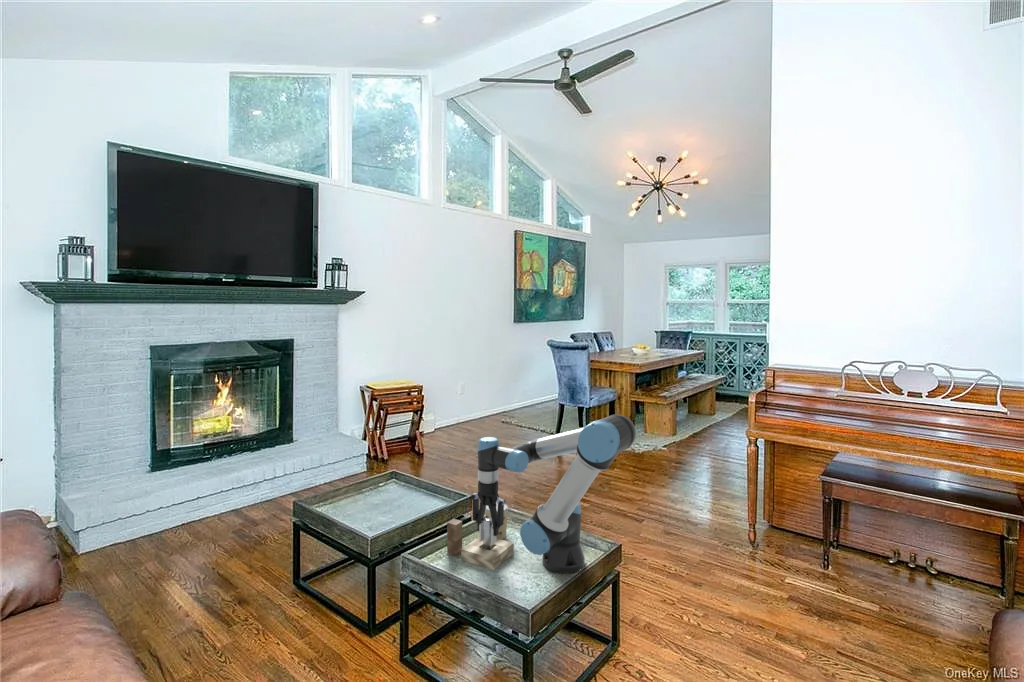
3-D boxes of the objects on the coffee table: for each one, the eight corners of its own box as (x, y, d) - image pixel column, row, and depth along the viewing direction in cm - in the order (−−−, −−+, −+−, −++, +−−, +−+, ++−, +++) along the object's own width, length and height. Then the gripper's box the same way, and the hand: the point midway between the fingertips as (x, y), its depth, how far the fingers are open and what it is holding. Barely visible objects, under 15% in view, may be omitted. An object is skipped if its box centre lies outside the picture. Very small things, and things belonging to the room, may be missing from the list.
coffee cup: (482, 540, 207) (482, 510, 206) (487, 529, 216) (487, 501, 215) (505, 542, 205) (506, 512, 204) (509, 531, 214) (510, 503, 213)
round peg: (494, 555, 194) (494, 519, 193) (489, 559, 191) (489, 522, 190) (486, 553, 196) (486, 516, 195) (481, 557, 193) (481, 520, 192)
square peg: (462, 552, 197) (462, 521, 196) (456, 556, 193) (456, 525, 192) (453, 549, 199) (453, 518, 198) (447, 553, 195) (447, 522, 194)
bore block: (513, 553, 196) (513, 542, 196) (493, 570, 184) (494, 559, 184) (482, 544, 203) (482, 534, 203) (461, 559, 191) (461, 549, 191)
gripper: (514, 481, 190) (513, 543, 192) (473, 472, 199) (473, 532, 201) (503, 487, 184) (503, 551, 186) (462, 478, 192) (462, 540, 194)
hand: (487, 541), depth 193 cm, fingers open, 4 cm apart
